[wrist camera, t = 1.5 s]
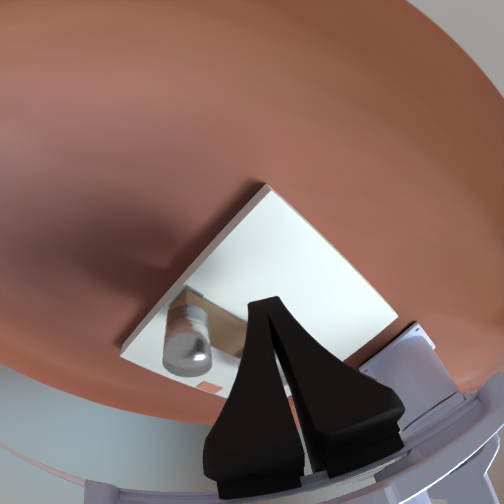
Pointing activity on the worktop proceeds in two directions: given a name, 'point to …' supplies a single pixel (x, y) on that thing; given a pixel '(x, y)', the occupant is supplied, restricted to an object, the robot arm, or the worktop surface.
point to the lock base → (268, 289)
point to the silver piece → (201, 336)
